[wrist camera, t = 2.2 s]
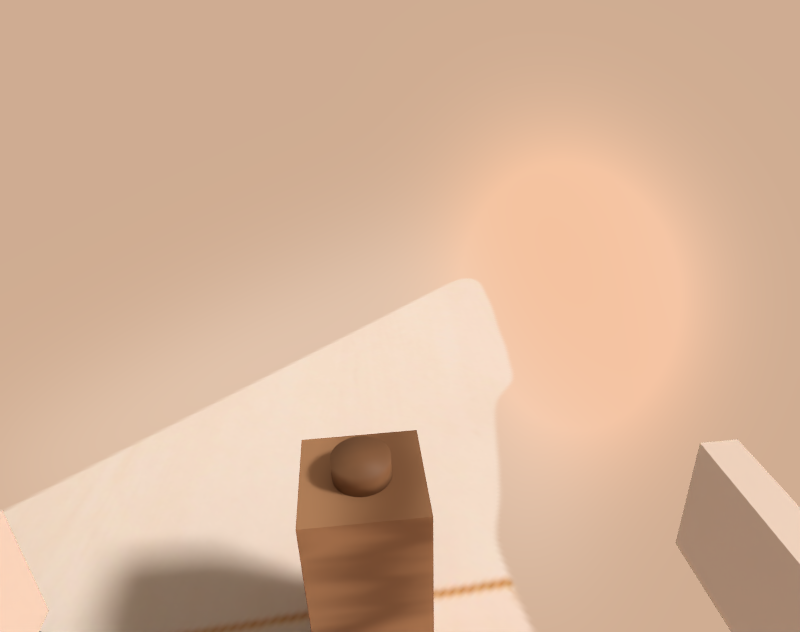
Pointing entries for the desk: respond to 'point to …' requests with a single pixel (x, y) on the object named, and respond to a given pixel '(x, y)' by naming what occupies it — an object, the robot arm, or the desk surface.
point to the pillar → (366, 534)
